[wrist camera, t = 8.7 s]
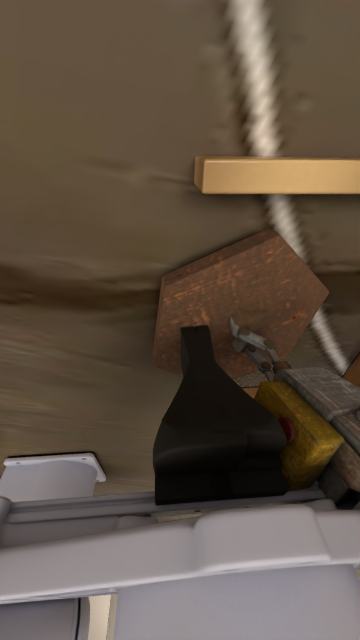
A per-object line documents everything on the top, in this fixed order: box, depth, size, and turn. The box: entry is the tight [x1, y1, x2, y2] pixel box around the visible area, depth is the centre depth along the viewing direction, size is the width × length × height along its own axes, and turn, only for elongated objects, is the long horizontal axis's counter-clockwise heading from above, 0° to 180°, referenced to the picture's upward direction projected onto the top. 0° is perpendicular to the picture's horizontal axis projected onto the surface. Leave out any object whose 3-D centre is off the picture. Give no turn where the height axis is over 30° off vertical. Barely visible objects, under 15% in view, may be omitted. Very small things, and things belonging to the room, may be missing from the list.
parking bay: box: [194, 156, 360, 398], centre depth 14 cm, size 14×17×2 cm
